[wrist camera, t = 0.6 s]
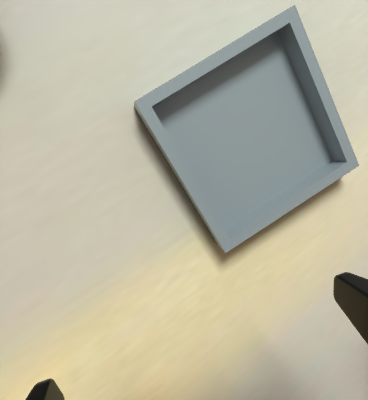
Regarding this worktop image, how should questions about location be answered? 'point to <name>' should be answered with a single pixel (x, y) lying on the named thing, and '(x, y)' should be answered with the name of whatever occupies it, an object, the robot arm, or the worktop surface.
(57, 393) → the robot arm
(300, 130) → the tray
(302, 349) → the worktop surface
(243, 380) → the worktop surface
